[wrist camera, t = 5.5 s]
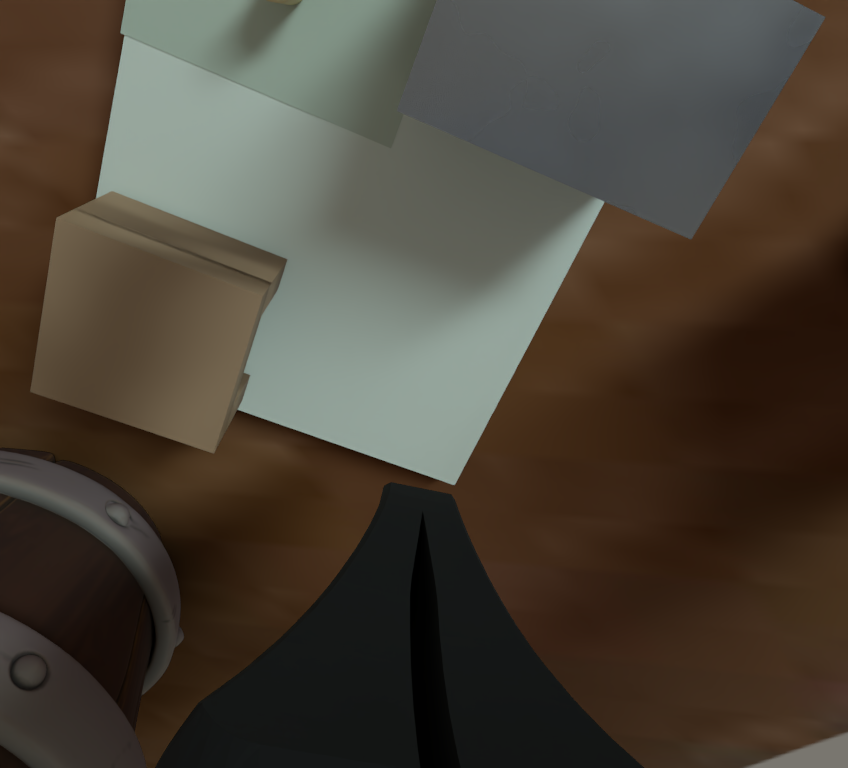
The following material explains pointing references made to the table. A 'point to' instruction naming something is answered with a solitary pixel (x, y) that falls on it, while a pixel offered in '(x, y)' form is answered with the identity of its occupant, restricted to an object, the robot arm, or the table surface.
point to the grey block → (611, 90)
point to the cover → (151, 319)
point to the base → (344, 215)
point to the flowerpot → (78, 615)
